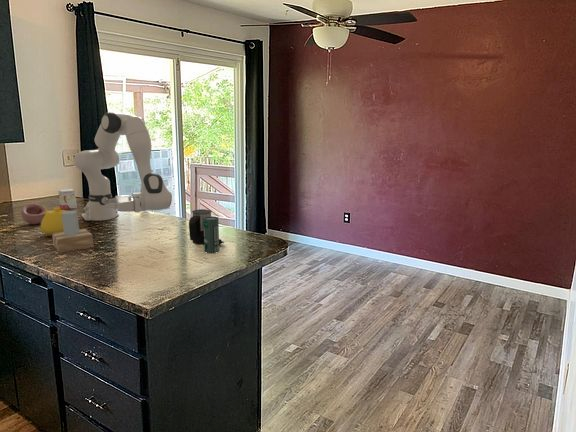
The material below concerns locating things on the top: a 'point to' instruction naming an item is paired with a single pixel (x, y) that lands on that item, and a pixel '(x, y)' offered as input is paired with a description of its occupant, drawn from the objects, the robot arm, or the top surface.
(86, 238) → the maple block
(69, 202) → the ink box
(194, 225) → the milk frother
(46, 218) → the teapot
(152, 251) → the top surface
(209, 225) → the can
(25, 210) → the mortar and pestle
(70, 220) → the gray block
